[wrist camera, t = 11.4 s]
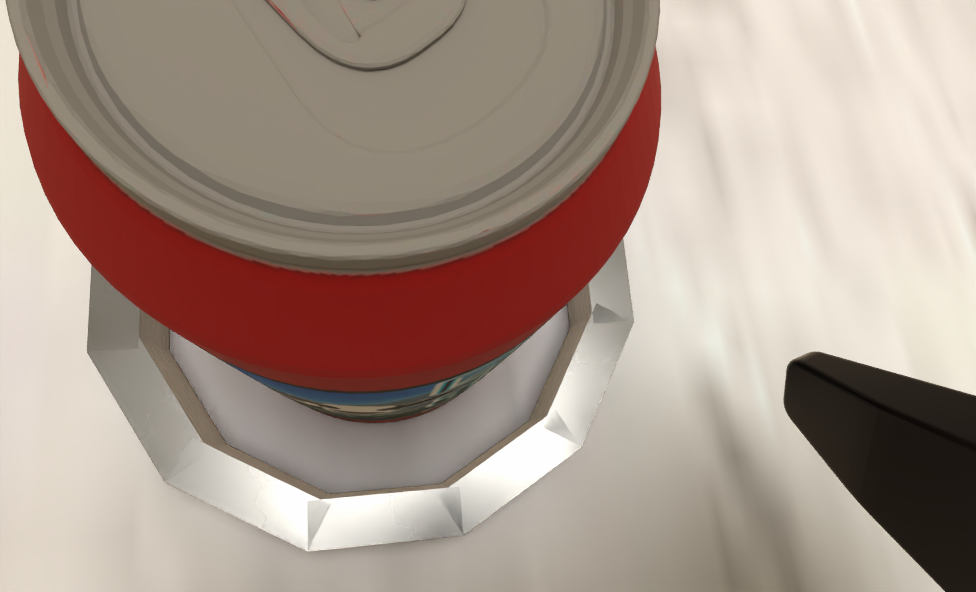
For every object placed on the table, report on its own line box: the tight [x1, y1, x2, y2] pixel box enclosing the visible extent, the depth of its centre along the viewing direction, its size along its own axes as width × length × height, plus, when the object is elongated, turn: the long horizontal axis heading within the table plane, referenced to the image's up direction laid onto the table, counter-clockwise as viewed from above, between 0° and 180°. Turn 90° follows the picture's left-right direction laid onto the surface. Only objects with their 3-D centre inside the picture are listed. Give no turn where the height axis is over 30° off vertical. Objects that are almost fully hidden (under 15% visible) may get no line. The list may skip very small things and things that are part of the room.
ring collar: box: [87, 239, 634, 552], centre depth 16 cm, size 12×12×2 cm
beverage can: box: [6, 0, 661, 423], centre depth 11 cm, size 7×7×12 cm
